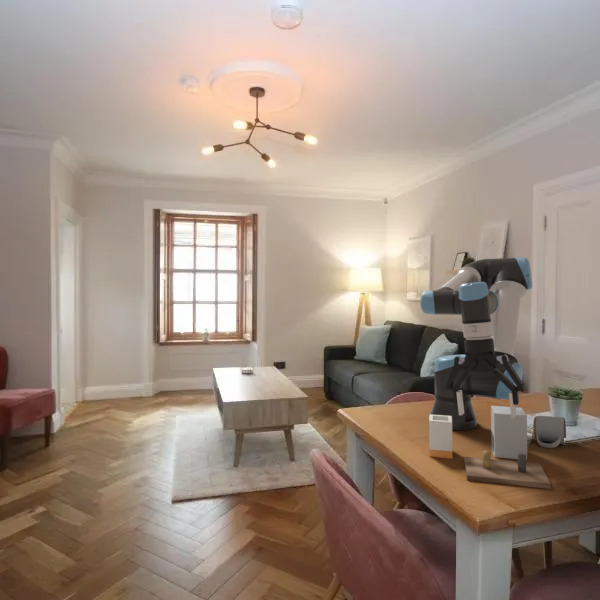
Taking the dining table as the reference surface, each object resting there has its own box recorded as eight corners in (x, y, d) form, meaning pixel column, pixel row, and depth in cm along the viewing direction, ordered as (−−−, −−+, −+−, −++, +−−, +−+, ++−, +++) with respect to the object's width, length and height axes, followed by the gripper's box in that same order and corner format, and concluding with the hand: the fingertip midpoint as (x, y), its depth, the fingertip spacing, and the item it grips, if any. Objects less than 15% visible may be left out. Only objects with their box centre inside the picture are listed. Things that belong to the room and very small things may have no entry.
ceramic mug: (535, 435, 136) (535, 410, 136) (566, 439, 132) (566, 414, 131) (531, 446, 127) (531, 420, 127) (564, 451, 123) (563, 424, 122)
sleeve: (430, 448, 127) (429, 414, 126) (451, 450, 125) (451, 415, 125) (429, 456, 121) (429, 420, 121) (452, 458, 119) (452, 422, 119)
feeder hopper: (490, 446, 127) (490, 405, 127) (521, 449, 125) (521, 407, 124) (494, 457, 120) (493, 413, 119) (527, 459, 117) (526, 415, 117)
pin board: (464, 461, 117) (464, 441, 117) (539, 468, 112) (539, 448, 112) (467, 480, 106) (466, 458, 106) (550, 489, 100) (550, 466, 100)
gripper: (429, 341, 125) (437, 416, 124) (525, 337, 111) (535, 421, 110) (438, 339, 131) (445, 410, 130) (530, 334, 117) (540, 414, 116)
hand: (486, 415), depth 120 cm, fingers open, 13 cm apart
